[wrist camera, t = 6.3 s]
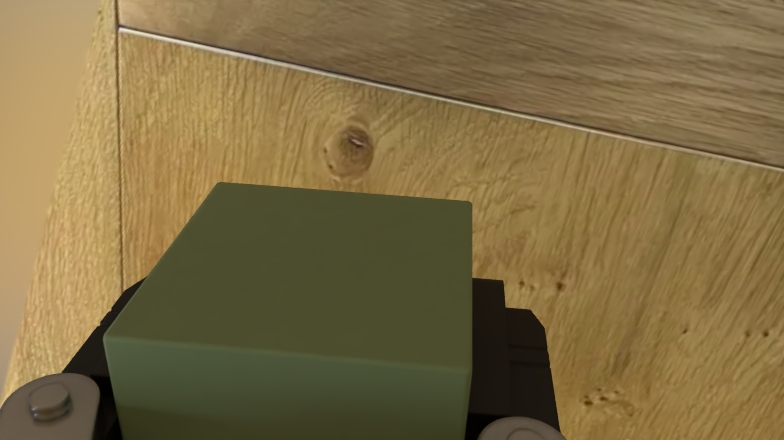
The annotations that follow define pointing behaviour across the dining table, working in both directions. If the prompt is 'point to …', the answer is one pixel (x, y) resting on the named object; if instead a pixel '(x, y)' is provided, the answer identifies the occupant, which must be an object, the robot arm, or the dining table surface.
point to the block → (301, 321)
